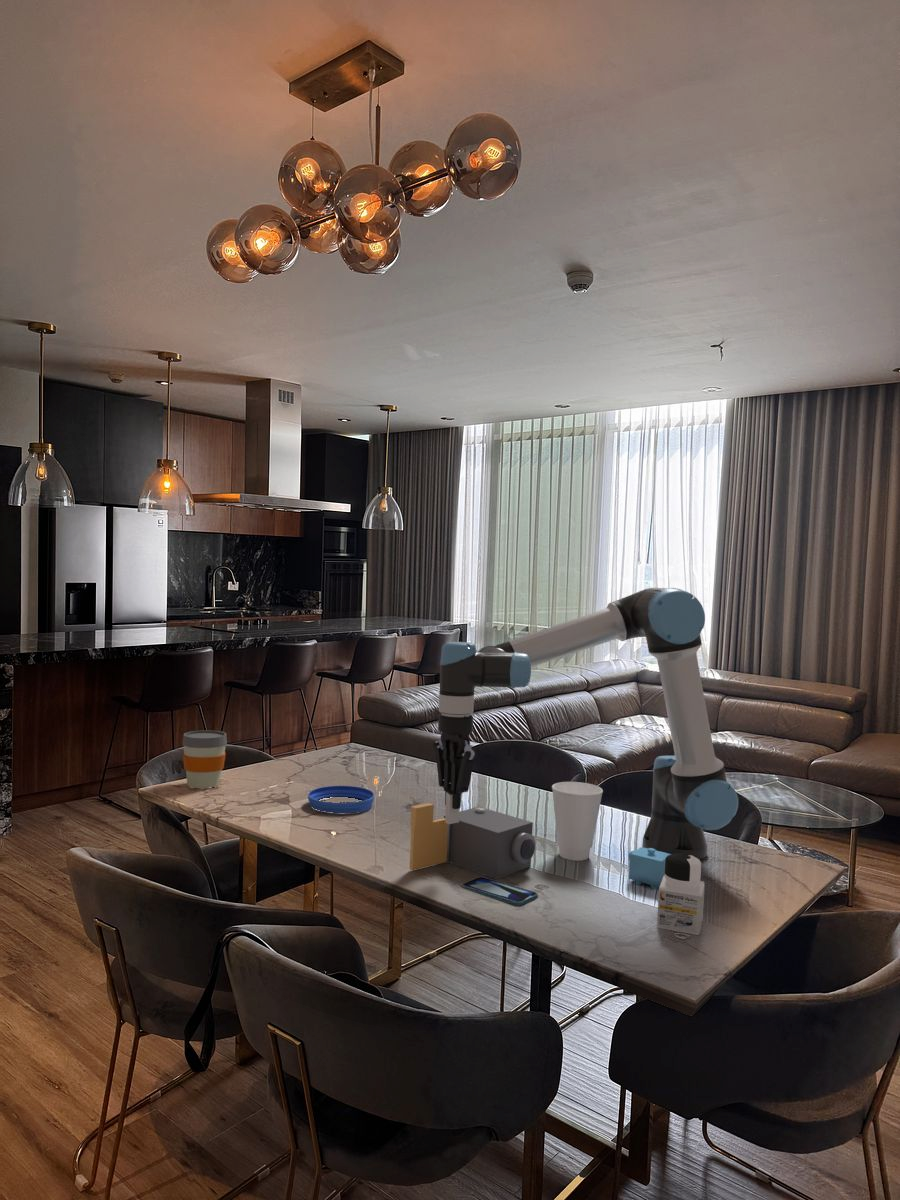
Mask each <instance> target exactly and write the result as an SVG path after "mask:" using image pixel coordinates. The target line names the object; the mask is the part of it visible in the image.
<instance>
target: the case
mask: <svg viewBox="0 0 900 1200" xmlns="http://www.w3.org/2000/svg"><path fill="white" fill-rule="evenodd" d="M443 818H445V815H444V816H443ZM533 823H534V822H532V821H529V820H526V819H524V818H523V819H522V818H519V817H516V816H513V815H508V814H505V813H502V812H499V811H495V810H492V809H489V808H485V807H481V806H476V807H472V808H468V809H464V810H460V813H459V822H458V823H453V824H450V843H449V862H448V863H450V864H454V865H456V866H458V867H461V868H464V869H467V870H470V871H473V872H476V873H478V874H480V875H484V876H487V878H488V877H489V878H490V879H493V880H498V879H501V878H504V877H507V876H509V875H512V874H514V873H515V874H516V873H517V872H520V871H522V870H525V869H529V868H531V867H532V866H531V864H532V858H533V856H534V854H535V851H536V839H535V836H534V835H533V827H534V826H533Z"/></svg>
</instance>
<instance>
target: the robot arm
mask: <svg viewBox="0 0 900 1200" xmlns="http://www.w3.org/2000/svg"><path fill="white" fill-rule="evenodd" d="M705 622H706V613H705V610H704V607H703V605H702V603H701V601H700V600H699V599H698V598H697V597H696V596H695V595H693V594H692V593H691V592H689V591H686V590H683V589H681V588H676V587H675V588H674V587H650V588H645V589H642V590H640V591H637V592H634V593H632V594H629V595H627V596H625V597H622V598H620V599H617V600H615V601H611V602H609V603H607V606H606V608H604V609H601V610H598V611H596V612H595V611H594V612H592V613H589V614H585V615H582V616H580V617H577V618H574V619H570V620H568V621H564V622H562V623H558V624H555V625H552V626H550V627H547V628H543V629H540V630H538V631H534V632H532V633H528V634H525V635H522V636H520V637H517V638H513V639H510V640H508V641H505V642H502V643H498V644H495V645H486V646H483V647H481V648H480V649H478V650H477V647H476V643H474V642H468V641H467V642H465V641H464V642H463V641H448V642H445V643H444V644H443V645H442V647H441V653H440V654H441V656H440V662H439V667H440V668H439V695H438V696H439V697H438V711H439V715H438V724H437V725H438V726H437V730H438V732H439V733H441V735H440V739H439V740H435V741H433V748H434V752H435V757H436V758H435V759H436V769H437V770H436V771H437V778H438V779H437V780H438V785H439V787H442V788H443V791H444V806H445V810H444V811H445V815H444V816H445V823H448V824H453V823H458V822H459V813H460V811H461V810H460V809H461V807H462V806H461V804H462V794H463V793H468V792H469V788H470V783H471V778H472V774H473V768H474V763H475V760H476V758H477V756H478V750H476V749H474V750H473V748H472V747H471V741H470V735H471V733H472V732H473V731H474V716H473V713H474V703H475V702H474V701H475V700H474V698H475V688H476V687H477V688H479V687H480V688H481V687H483V688H485V687H489V688H511V689H516V688H526V687H527V686H528V685H529V684H530V681H531V676H532V668H534V667H536V666H539V665H542V664H545V663H548V662H552V661H554V660H557V659H561V658H564V657H567V656H569V655H572V654H575V653H579V652H581V651H584V650H587V649H591V648H592V647H596V646H599V645H603V644H606V643H608V642H611V641H614V640H619V641H621V642H624V641H628V640H631V639H635V638H645V639H646V644H647V650H648V653H649V655H651V656H653V657H654V658H655V659H656V661H657V666H658V671H659V677H660V682H661V686H662V692H663V697H664V699H663V700H664V703H665V708H666V713H667V721H668V724H669V730H670V735H671V742H672V745H673V746H672V747H673V752H674V753H673V754H674V755H660V756H657V757H656V758H655V759H654V762H653V768H652V773H653V774H652V790H651V791H652V794H651V796H652V797H651V813H650V814H651V815H650V818H649V821H648V824H647V827H646V828H645V831H644V834H643V837H642V846H641V847H643V848H647V849H648V848H653V849H655V850H656V851H660V852H664V853H668V854H674V853H683V854H689V855H692V856H694V857H696V858H698V859H699V860H700V861H701V860H703V859H705V858H706V857H707V856H708V844H707V843H708V842H707V839H706V836H705V833H704V830H705V831H716V830H720V829H722V828H724V827H725V826H727V825H728V824H730V822H732V820H733V818H734V817H735V816H736V814H737V812H738V808H739V796H738V793H737V790H735V788H734V787H733V785H731V784H730V783H729V782H728V781H727V774H726V769H725V764H724V762H723V761H722V760H721V759H719V758H718V757H717V756H716V755H715V749H714V743H713V737H712V733H711V727H710V721H709V716H708V710H707V706H706V705H707V704H706V699H705V694H704V689H703V684H702V677H701V673H700V666H699V662H698V655H697V654H698V653H697V652H698V651H699V649H700V648H701V647H702V645H703V643H702V638H701V637H702V636H701V632H702V631H703V629H704V627H705Z"/></svg>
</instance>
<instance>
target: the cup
mask: <svg viewBox="0 0 900 1200" xmlns="http://www.w3.org/2000/svg"><path fill="white" fill-rule="evenodd" d="M551 790H552V799H553V808H554V822H555V832H556V843H557V845H558V854H559V856H560V858H563V859H564V860H569V861H577V862H579V861H585V860H588V859H589V858H590V854H591V849H592V847H593V843H594V838H595V833H596V830H597V829H596V826H597V821H598V817H599V813H600V812H599V811H600V807H601V801H602V797H603V793H604V790H603V788H601V787H600V786H598V785H597V784H592V783H589V782H588V783H587V782H581V781H580V782H578V781H561V782H556V783H554V784H552V785H551Z"/></svg>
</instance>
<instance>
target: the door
mask: <svg viewBox="0 0 900 1200" xmlns="http://www.w3.org/2000/svg"><path fill="white" fill-rule="evenodd" d="M434 807H435V805H434V804H432V803H430V802H428V803H422V804H416V805H412V806H411V808H410V827H411V829H410V849H409V850H410V851H409V870H410V871H416V870H420V869H423V868H424V869H425V868H427V867H431V866H436V865H439V864H443V863H446V864H448V863H450V862H449V843H450V824H448V823H445V818H444V817H443V818H439V819H435V820H434V812H435V811H434V810H435V809H434Z"/></svg>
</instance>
